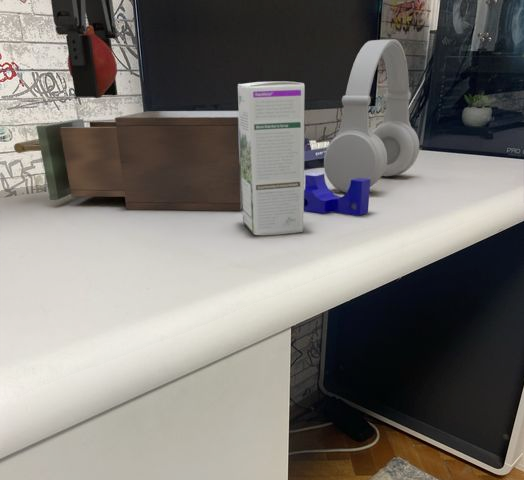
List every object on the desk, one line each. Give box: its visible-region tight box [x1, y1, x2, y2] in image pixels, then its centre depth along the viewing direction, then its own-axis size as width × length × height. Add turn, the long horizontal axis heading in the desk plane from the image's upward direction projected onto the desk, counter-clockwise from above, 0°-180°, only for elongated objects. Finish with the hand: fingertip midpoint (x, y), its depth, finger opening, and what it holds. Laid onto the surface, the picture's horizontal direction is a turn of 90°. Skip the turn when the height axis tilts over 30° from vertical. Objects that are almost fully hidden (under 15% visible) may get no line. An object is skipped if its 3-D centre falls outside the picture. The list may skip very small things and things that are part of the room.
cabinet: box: [114, 110, 243, 212], centre depth 71 cm, size 15×13×11 cm
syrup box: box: [237, 81, 306, 236], centre depth 56 cm, size 6×6×14 cm
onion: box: [67, 25, 118, 99], centre depth 67 cm, size 6×6×8 cm
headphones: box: [323, 39, 420, 194], centre depth 78 cm, size 20×8×19 cm, turn 149°
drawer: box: [13, 118, 125, 201], centre depth 72 cm, size 18×12×9 cm, turn 84°
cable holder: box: [304, 172, 371, 217], centre depth 65 cm, size 8×4×4 cm, turn 51°
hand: (97, 95), depth 68 cm, fingers closed on onion, 6 cm apart
